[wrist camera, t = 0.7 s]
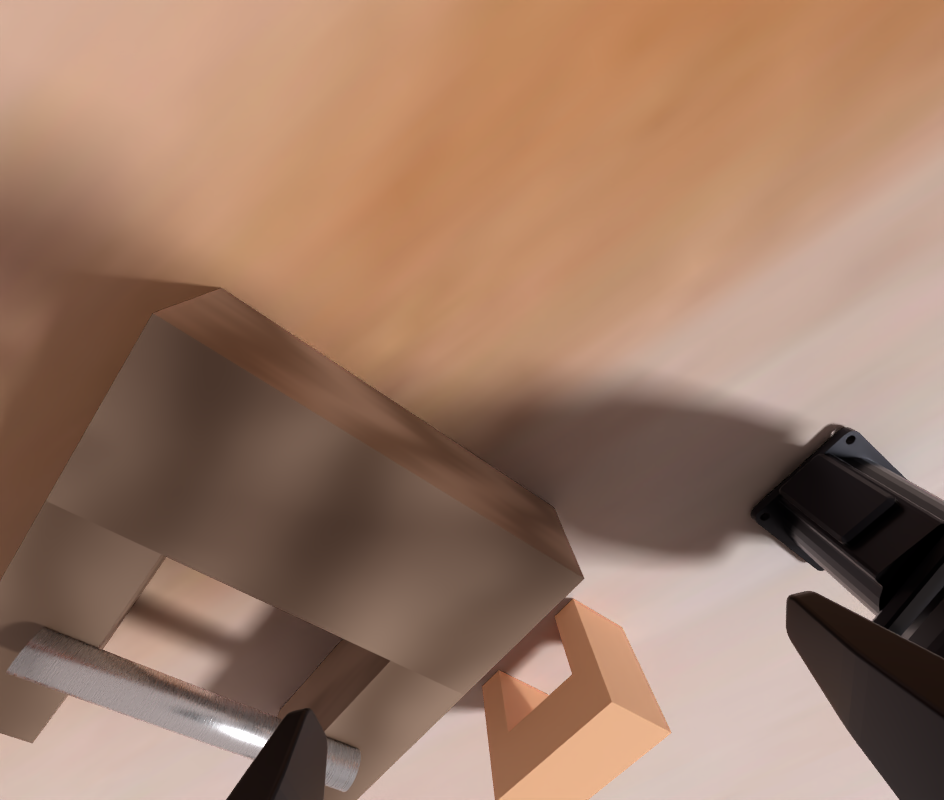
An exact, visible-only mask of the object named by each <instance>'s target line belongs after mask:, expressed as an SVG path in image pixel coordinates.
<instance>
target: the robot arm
mask: <svg viewBox="0 0 944 800" xmlns="http://www.w3.org/2000/svg"><path fill="white" fill-rule="evenodd" d="M763 513H764V514H763ZM762 514H763V515H762ZM751 517H752V518H753V519H754V520H755V521H756V522H757V523H758V524H759V525H761V526H762V527H763V528H765V529H766V530H767V531H768V532H770V533H771V534H772V535H773V536H775V537H776V538H777V539H779V540H780V541H781V542H782V543H784V544H785V545H786V546H787V547H789V548H790V549H791V550H793V551H794V552H795V553H796V554H798V555H799V556H800V557H802V558H803V559H804V560H805V561H807V562H808V563H809V564H810V565H812V566H813V567H814V568H816V569H817V570H819V571H823V570H826V571H827V572H828V573H829V574H830V575H831V576H832V577H833V578H834V579H836V580H837V581H838V582H839V583H840V584H841V585H842V586H843V587H844V588H846V589H847V590H848V591H849V592H850V593H851V594H852V595H853V596H854V597H856V598H857V599H858V600H859V601H860V602H861V603H862V604H863V605H864V606H866V607H867V608H868V609H869V610H870V611H871V612H872V613H873V614H874V615H876V617H875V618H874V619H873V621H870V620H868V619H866V618H864V617H862V616H861V615H859V614H857V613H855V612H853V611H851V610H849V609H847V608H845V607H843V606H841V605H839V604H837V603H835V602H833V601H831V600H829V599H828V598H826V597H824V596H822V595H820V594H818V593H815V592H812V591H805V592H801V593H796V594H792V595H790V596H789V597H788V598H787V604H786V630H787V633H788V636H789V638H790V640H791V642H792V644H793V645H794V647H795V648H796V650H797V651H798V653H799V655H800V656H801V658H802V659H803V661H804V663H805V664H806V666H807V667H808V669H809V671H810V672H811V674H812V675H813V677H814V678H815V680H816V682H817V683H818V685H819V686H820V688H821V690H822V691H823V693H824V694H825V696H826V698H827V699H828V701H829V702H830V704H831V705H832V707H833V709H834V710H835V712H836V713H837V715H838V716H839V718H840V720H841V721H842V723H843V724H844V726H845V727H846V729H847V730H848V732H849V733H850V734H851V736H852V737H853V738H854V740H855V741H856V743H857V744H858V745H859V747H860V748H861V749H862V751H863V752H864V753H865V755H866V756H867V757H868V759H869V760H870V761H871V763H872V764H873V765H874V766H875V768H876V769H877V770H878V772H879V773H880V774H881V776H882V777H883V778H884V780H885V781H886V782H887V784H888V785H889V786H890V788H891V789H892V790H893V792H894V793H895V794H896V796H897V797H898V798H899V800H944V500H942V499H940V498H939V497H937V496H935V495H933V494H931V493H930V492H928V491H926V490H924V489H922V488H921V487H919V486H917V485H915V484H913V483H912V482H910V481H908V480H907V479H906V478H905V477H904V476H903V475H902V474H901V473H900V472H899V471H898V470H897V469H896V468H894V467H893V466H892V465H891V464H890V463H889V462H888V461H887V460H886V459H885V458H884V457H883V456H882V455H881V454H880V453H879V452H878V451H877V450H876V449H875V448H874V447H873V446H872V445H871V444H870V443H869V442H868V441H867V440H866V439H865V438H864V437H863V436H862V435H861V434H860V433H859V432H857V431H855V430H853V429H851V428H843V429H841V430H839V431H838V432H837V433H836V434H835V435H834V436H833V437H831V438H830V439H829V440H828V441H827V442H826V443H825V444H824V445H823V446H822V447H820V448H819V449H818V450H817V451H816V452H815V453H814V454H813V455H812V456H811V457H809V458H808V459H807V460H806V461H805V462H804V463H803V464H802V465H801V466H800V467H798V468H797V469H796V470H795V471H794V472H793V473H792V474H791V475H790V476H789V477H787V478H786V479H785V480H784V481H783V482H782V483H781V484H780V485H779V486H778V487H776V488H775V489H774V490H773V491H772V492H771V493H770V494H769V495H768V496H767V497H765V498H764V499H763V500H762V501H761V502H760V503H759V504H758V505H757V506H756V507H754V509H753V510H752V512H751ZM327 749H328V745H327V737H326V734H325V732H324V730H323V728H322V726H321V725H320V723H319V721H318V719H317V717H316V715H315V714H314V712H313V710H312V709H310V708H304V709H299V710H295V711H291V712H289V713H288V714H287V715H286V716H285V717H284V718H283V719H282V721H281V722H280V724H279V725H278V727H277V728H276V729H275V731H274V732H273V734H272V735H271V737H270V738H269V739H268V741H267V742H266V744H265V745H264V747H263V748H262V749H261V751H260V752H259V754H258V755H257V757H256V758H255V759H254V761H253V762H252V764H251V765H250V767H249V768H248V769H247V771H246V772H245V774H244V775H243V776H242V778H241V779H240V781H239V782H238V784H237V785H236V786H235V788H234V789H233V791H232V792H231V794H230V795H229V796H228V798H227V799H226V800H324V791H325V777H326V763H327Z"/></svg>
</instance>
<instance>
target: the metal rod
mask: <svg viewBox="0 0 944 800" xmlns="http://www.w3.org/2000/svg"><path fill="white" fill-rule="evenodd" d="M6 673H7V674H10V675H13V676H16V677H19V678H22V679H24V680H27V681H30V682H33V683H36V684H39V685H41V686H44V687H47V688H50V689H53V690H56V691H58V692H61V693H64V694H67V695H70V696H73V697H76V698H78V699H81V700H84V701H87V702H90V703H93V704H95V705H98V706H101V707H104V708H107V709H110V710H112V711H115V712H118V713H121V714H124V715H127V716H129V717H132V718H135V719H138V720H141V721H144V722H146V723H149V724H152V725H155V726H158V727H161V728H163V729H166V730H169V731H172V732H175V733H178V734H181V735H183V736H186V737H189V738H192V739H195V740H198V741H200V742H203V743H206V744H209V745H212V746H215V747H217V748H220V749H223V750H226V751H229V752H232V753H234V754H237V755H240V756H243V757H246V758H249V759H251V760H254V759H255V758H256V757H257V755H258V754H259V752H260V751H261V749H262V748H263V747H264V745H265V744H266V742H267V741H268V739H269V738H270V737H271V735H272V734H273V732H274V731H275V729H276V728H277V727H278V725H279V724H280V722H281V721H282V719H280V718H277V717H275V716H272V715H270V714H267V713H264V712H262V711H259V710H257V709H254V708H251V707H249V706H246V705H244V704H241V703H239V702H236V701H233V700H231V699H228V698H226V697H223V696H221V695H218V694H215V693H213V692H210V691H208V690H205V689H202V688H200V687H197V686H195V685H192V684H190V683H187V682H184V681H182V680H179V679H177V678H174V677H172V676H169V675H166V674H164V673H161V672H159V671H156V670H154V669H151V668H148V667H146V666H143V665H141V664H138V663H135V662H133V661H130V660H128V659H125V658H123V657H120V656H117V655H115V654H112V653H110V652H107V651H105V650H102V649H99V648H96V647H94V646H91V645H89V644H86V643H83V642H81V641H78V640H76V639H73V638H70V637H68V636H65V635H63V634H60V633H58V632H55V631H52V630H50V629H47V628H45V627H43V628H42V629H41V630H40V631H39V632H38V633H37V634H36V635H35V636H34V637H33V638H32V639H31V640H30V641H29V642H28V644H27V645H26V646H25V647H24V648H23V649H22V651H21V652H20V653H19V654H18V656H17V657H16V658H15V660H14V661H13V662H12V664H11V665H10V667H9V668H8V670H7V671H6ZM327 745H328V749H327V763H326V777H325V786H328V787H331V788H334V789H337V790H339V791H342V792H346V791H347V790H348V789H349V788H350V787H351V785H352V784H353V782H354V780H355V778H356V775H357V772H358V769H359V766H360V760H361V753H360V750H359V749H357V748H354V747H352V746H349V745H346V744H344V743H341V742H339V741H336V740H334V739H331V738H328V737H327Z"/></svg>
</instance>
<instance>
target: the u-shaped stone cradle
mask: <svg viewBox="0 0 944 800" xmlns="http://www.w3.org/2000/svg"><path fill="white" fill-rule="evenodd" d="M166 557H168V558H170V559H172V560H174V561H177V562H179V563H181V564H183V565H185V566H187V567H190V568H192V569H194V570H196V571H198V572H200V573H203V574H205V575H207V576H209V577H211V578H213V579H215V580H218V581H220V582H222V583H224V584H226V585H228V586H231V587H233V588H235V589H237V590H239V591H241V592H243V593H246V594H248V595H250V596H252V597H254V598H256V599H259V600H261V601H263V602H265V603H267V604H269V605H272V606H274V607H276V608H278V609H280V610H282V611H284V612H287V613H289V614H291V615H293V616H295V617H297V618H300V619H302V620H304V621H306V622H308V623H310V624H312V625H315V626H317V627H319V628H321V629H323V630H325V631H328V632H330V633H332V634H334V635H336V636H338V637H341V638H343V639H342V640H341V641H340V643H339V644H338V645H337V646H336V647H335V648H334V649H333V651H332V652H331V653H330V654H329V655H328V656H327V657H326V658H325V660H324V661H323V662H322V663H321V664H320V665H319V666H318V668H317V669H316V670H315V671H314V672H313V673H312V674H311V675H310V677H309V678H308V679H307V680H306V681H305V682H304V683H303V685H302V686H301V687H300V688H299V689H298V690H297V691H296V693H295V694H294V695H293V696H292V697H291V698H290V699H289V700H288V702H287V703H286V704H285V705H284V706H283V707H282V708H281V710H280V711H279V714H278V717H277V718H280V719H283V718H284V717H285V716H286V715H287V714H288V713H289V712H291V711H295V710H299V709H304V708H310V709H312V710H313V712H314V714H315V715H316V717H317V719H318V721H319V723H320V725H321V726H322V728H323V730H324V732H325V734H326V737H328V738H331V739H334V740H336V741H339V742H341V743H344V744H346V745H349V746H352V747H354V748H357V749H359V750H360V753H361V760H360V766H359V769H358V772H357V775H356V778H355V780H354V782H353V784H352V785H351V787H350V788H349V789H348V790H347V791H346V792H342V791H339V790H337V789H334V788H331V787H328V786H325V791H324V800H357V799H358V798H359V797H360V796H361V795H362V794H363V793H364V792H365V791H366V790H367V789H368V788H369V787H371V786H372V785H373V784H374V783H375V782H376V781H377V780H378V779H379V778H380V777H381V776H382V775H383V774H384V773H385V772H386V771H387V770H388V769H389V768H390V767H391V766H392V765H393V764H394V763H395V762H396V761H397V760H398V759H399V758H400V757H401V756H402V755H403V754H404V753H405V752H407V751H408V750H409V749H410V748H411V747H412V746H413V745H414V744H415V743H416V742H417V741H418V740H419V739H420V738H421V737H422V736H423V735H424V734H425V733H426V732H427V731H428V730H429V729H430V728H431V727H432V726H433V725H434V724H435V723H436V722H437V721H438V720H439V719H440V718H441V717H443V716H444V715H445V714H446V713H447V712H448V711H449V710H450V709H451V708H452V707H453V706H454V705H455V704H456V703H457V702H458V701H459V700H460V699H461V698H462V697H463V696H464V695H465V694H466V693H467V692H468V691H469V690H470V689H471V688H472V687H473V686H474V685H475V684H476V683H477V682H479V681H480V680H481V679H482V678H483V677H484V676H485V675H486V674H487V673H488V672H489V671H490V670H491V669H492V668H493V667H494V666H495V665H496V664H497V663H498V662H499V661H500V660H501V659H502V658H503V657H504V656H505V655H506V654H507V653H508V652H509V651H510V650H511V649H512V648H513V647H515V646H516V645H517V644H518V643H519V642H520V641H521V640H522V639H523V638H524V637H525V636H526V635H527V634H528V633H529V632H530V631H531V630H532V629H533V628H534V627H535V626H536V625H537V624H538V623H539V622H540V621H541V620H542V619H543V618H544V617H545V616H546V615H547V614H548V613H549V612H551V611H552V610H553V609H554V608H555V607H556V606H557V605H558V604H559V603H560V602H561V601H562V600H563V599H564V598H565V597H566V596H567V595H568V594H569V593H570V592H571V591H572V590H573V589H574V588H575V587H576V586H577V585H578V584H579V583H580V582H581V581H582V580H583V579H584V577H583V574H582V572H581V570H580V567H579V565H578V563H577V560H576V558H575V555H574V553H573V551H572V548H571V546H570V544H569V541H568V539H567V537H566V534H565V532H564V530H563V527H562V525H561V523H560V520H559V518H558V516H557V513H556V511H555V509H554V507H553V506H551V505H549V504H548V503H546V502H545V501H543V500H542V499H540V498H539V497H537V496H536V495H534V494H533V493H531V492H530V491H528V490H527V489H525V488H524V487H522V486H521V485H519V484H518V483H516V482H515V481H513V480H512V479H510V478H509V477H507V476H506V475H504V474H503V473H501V472H500V471H498V470H496V469H495V468H493V467H492V466H490V465H489V464H487V463H486V462H484V461H483V460H481V459H480V458H478V457H477V456H475V455H474V454H472V453H471V452H469V451H468V450H466V449H465V448H463V447H462V446H460V445H459V444H457V443H456V442H454V441H453V440H451V439H450V438H448V437H447V436H445V435H443V434H442V433H440V432H439V431H437V430H436V429H434V428H433V427H431V426H430V425H428V424H427V423H425V422H424V421H422V420H421V419H419V418H418V417H416V416H415V415H413V414H412V413H410V412H409V411H407V410H406V409H404V408H403V407H401V406H400V405H398V404H397V403H395V402H394V401H392V400H390V399H389V398H387V397H386V396H384V395H383V394H381V393H380V392H378V391H377V390H375V389H374V388H372V387H371V386H369V385H368V384H366V383H365V382H363V381H362V380H360V379H359V378H357V377H356V376H354V375H353V374H351V373H350V372H348V371H347V370H345V369H344V368H342V367H341V366H339V365H337V364H336V363H334V362H333V361H331V360H330V359H328V358H327V357H325V356H324V355H322V354H321V353H319V352H318V351H316V350H315V349H313V348H312V347H310V346H309V345H307V344H306V343H304V342H303V341H301V340H300V339H298V338H297V337H295V336H294V335H292V334H291V333H289V332H288V331H286V330H284V329H283V328H281V327H280V326H278V325H277V324H275V323H274V322H272V321H271V320H269V319H268V318H266V317H265V316H263V315H262V314H260V313H259V312H257V311H256V310H254V309H253V308H251V307H250V306H248V305H247V304H245V303H244V302H242V301H241V300H239V299H238V298H236V297H235V296H233V295H231V294H230V293H228V292H227V291H225V290H224V289H222V288H220V289H217V290H215V291H212V292H209V293H206V294H204V295H201V296H198V297H195V298H193V299H190V300H187V301H184V302H182V303H179V304H176V305H174V306H171V307H168V308H165V309H163V310H160V311H157V312H154V313H153V314H152V315H151V317H150V319H149V321H148V322H147V324H146V326H145V328H144V329H143V331H142V333H141V335H140V337H139V338H138V340H137V342H136V344H135V345H134V347H133V349H132V351H131V352H130V354H129V356H128V358H127V359H126V361H125V363H124V365H123V366H122V368H121V370H120V372H119V373H118V375H117V377H116V379H115V380H114V382H113V384H112V386H111V387H110V389H109V391H108V393H107V394H106V396H105V398H104V400H103V401H102V403H101V405H100V407H99V408H98V410H97V412H96V414H95V415H94V417H93V419H92V421H91V422H90V424H89V426H88V428H87V429H86V431H85V433H84V435H83V436H82V438H81V440H80V442H79V443H78V445H77V447H76V449H75V451H74V452H73V454H72V456H71V458H70V459H69V461H68V463H67V465H66V466H65V468H64V470H63V472H62V473H61V475H60V477H59V479H58V480H57V482H56V484H55V486H54V487H53V489H52V491H51V493H50V494H49V496H48V498H47V500H46V501H45V503H44V505H43V507H42V508H41V510H40V512H39V514H38V515H37V517H36V519H35V521H34V522H33V524H32V526H31V528H30V529H29V531H28V533H27V535H26V536H25V538H24V540H23V542H22V543H21V545H20V547H19V549H18V550H17V552H16V554H15V556H14V558H13V559H12V561H11V563H10V565H9V566H8V568H7V570H6V572H5V573H4V575H3V577H2V579H1V580H0V733H2V734H5V735H8V736H11V737H14V738H17V739H21V740H24V741H27V742H30V743H33V742H34V740H35V739H36V738H37V736H38V735H39V734H40V732H41V731H42V730H43V728H44V727H45V726H46V724H47V723H48V722H49V720H50V719H51V718H52V716H53V715H54V714H55V712H56V711H57V710H58V708H59V707H60V706H61V704H62V703H63V702H64V700H65V699H66V698H67V696H68V695H67V694H64V693H61V692H58V691H56V690H53V689H50V688H47V687H44V686H41V685H39V684H36V683H33V682H30V681H27V680H24V679H22V678H19V677H16V676H13V675H10V674H7V673H6V671H7V670H8V668H9V667H10V665H11V664H12V662H13V661H14V660H15V658H16V657H17V656H18V654H19V653H20V652H21V651H22V649H23V648H24V647H25V646H26V645H27V644H28V642H29V641H30V640H31V639H32V638H33V637H34V636H35V635H36V634H37V633H38V632H39V631H40V630H41V629H42V628H43V627H45V628H47V629H50V630H52V631H55V632H58V633H60V634H63V635H65V636H68V637H70V638H73V639H76V640H78V641H81V642H83V643H86V644H89V645H91V646H94V647H96V648H99V649H103V648H104V647H105V645H106V644H107V642H108V641H109V640H110V638H111V637H112V635H113V634H114V632H115V631H116V629H117V628H118V627H119V625H120V624H121V622H122V621H123V619H124V618H125V616H126V615H127V613H128V612H129V611H130V609H131V608H132V606H133V605H134V603H135V602H136V600H137V599H138V597H139V596H140V595H141V593H142V592H143V590H144V589H145V587H146V586H147V584H148V583H149V581H150V580H151V579H152V577H153V576H154V574H155V573H156V571H157V570H158V568H159V567H160V565H161V564H162V563H163V561H164V560H165V558H166Z"/></svg>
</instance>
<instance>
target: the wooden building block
mask: <svg viewBox="0 0 944 800" xmlns="http://www.w3.org/2000/svg"><path fill="white" fill-rule="evenodd" d="M554 617H555V620H556V624H557V627H558V630H559V633H560V636H561V640H562V643H563V646H564V649H565V652H566V656H567V659H568V662H569V665H570V668H571V672H572V675H571V676H570V677H569V678H568V679H567V680H566V681H564V682H563V683H562V684H561V685H560V686H559V687H558V688H557V689H556V690H555V691H553V692H552V693H551V694H550V695H549V696H548V694H546V693H544V692H542V691H540V690H538V689H536V688H534V687H532V686H530V685H528V684H526V683H524V682H522V681H520V680H518V679H516V678H514V677H512V676H510V675H508V674H506V673H504V672H502V671H500V670H498V671H497V672H496V673H495V674H494V675H493V676H492V677H491V678H490V679H489V680H488V681H487V682H486V683H485V684H484V685H483V686H482V690H483V699H484V708H485V716H486V725H487V734H488V743H489V751H490V760H491V769H492V778H493V786H494V795H495V800H588V799H589V798H591V797H592V796H593V795H594V794H596V793H597V792H598V791H599V790H601V789H602V788H603V787H604V786H606V785H607V784H608V783H609V782H611V781H612V780H613V779H614V778H616V777H617V776H618V775H619V774H621V773H622V772H623V771H624V770H626V769H627V768H628V767H629V766H631V765H632V764H633V763H634V762H636V761H637V760H638V759H639V758H641V757H642V756H643V755H644V754H646V753H647V752H648V751H649V750H651V749H652V748H653V747H654V746H656V745H657V744H658V743H659V742H661V741H662V740H663V739H664V738H666V737H667V736H668V735H669V734H671V731H670V729H669V726H668V724H667V722H666V720H665V718H664V716H663V714H662V711H661V709H660V707H659V705H658V703H657V701H656V699H655V696H654V694H653V692H652V690H651V688H650V686H649V684H648V682H647V679H646V677H645V675H644V673H643V671H642V669H641V667H640V664H639V662H638V660H637V658H636V656H635V654H634V652H633V649H632V647H631V645H630V643H629V641H628V639H627V637H626V635H625V632H624V630H623V628H622V627H621V626H619V625H617V624H615V623H614V622H612V621H610V620H609V619H607V618H605V617H604V616H602V615H600V614H599V613H597V612H595V611H594V610H592V609H590V608H588V607H587V606H585V605H583V604H582V603H580V602H578V601H577V600H575V599H572V600H571V601H570V602H569V603H568V604H567V605H566V606H565V607H564V608H563V609H562V610H561V611H560V612H559V613H558V614H556V615H555V616H554Z"/></svg>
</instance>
